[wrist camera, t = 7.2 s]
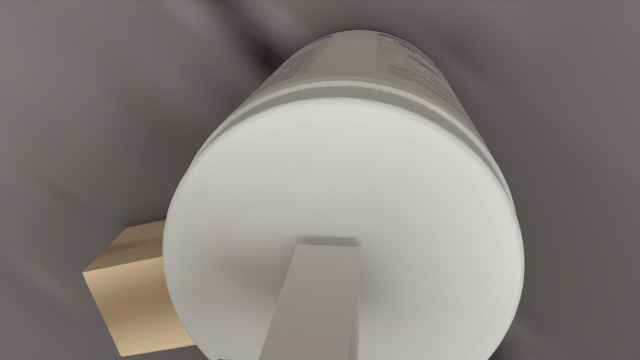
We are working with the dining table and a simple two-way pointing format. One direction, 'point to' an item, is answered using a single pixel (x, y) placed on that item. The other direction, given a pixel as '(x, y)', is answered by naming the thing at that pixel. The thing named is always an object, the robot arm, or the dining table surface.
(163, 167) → the dining table surface
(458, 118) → the supplement tub
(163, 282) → the oak block
